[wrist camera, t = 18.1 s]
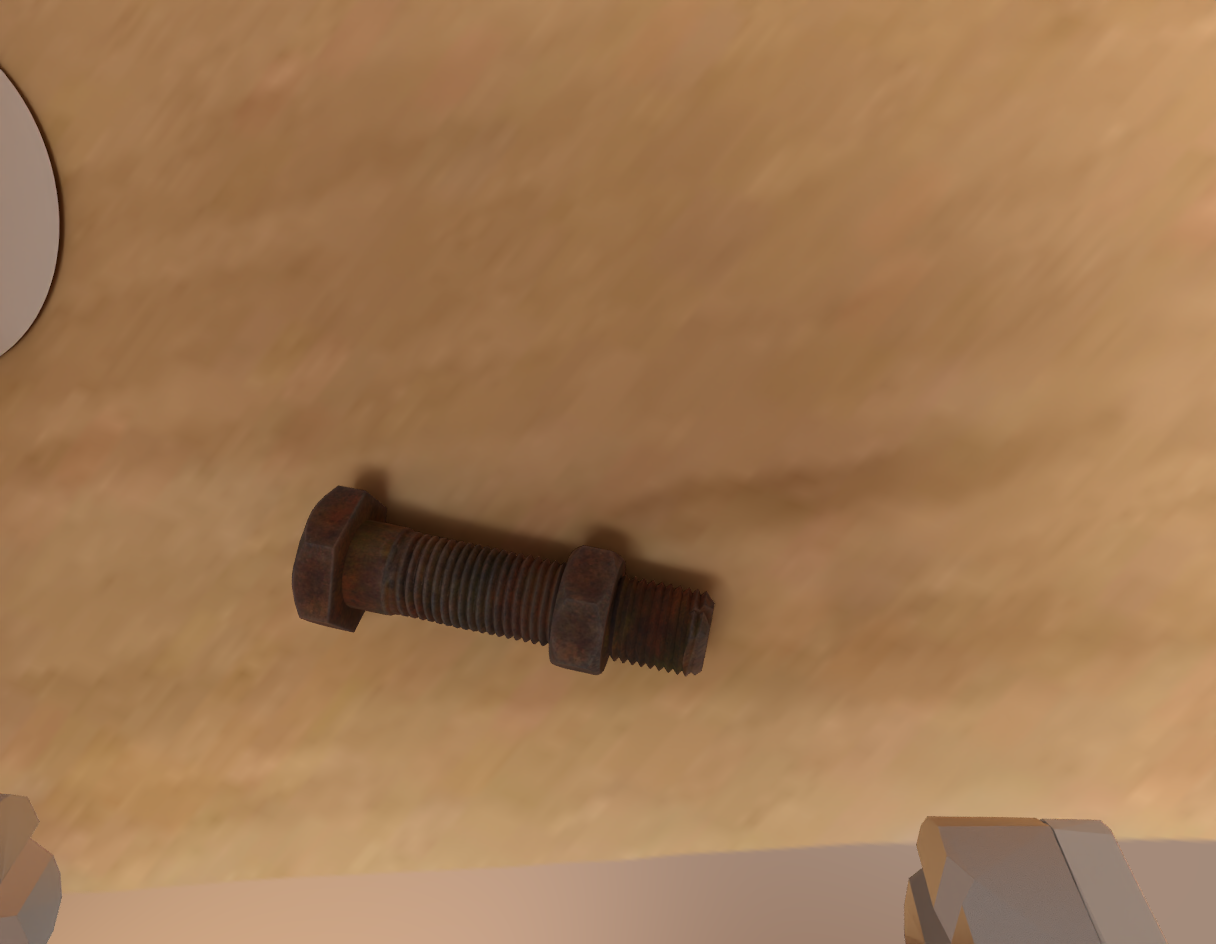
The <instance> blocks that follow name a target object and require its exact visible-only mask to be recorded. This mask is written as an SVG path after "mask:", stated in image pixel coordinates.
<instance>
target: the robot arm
mask: <svg viewBox="0 0 1216 944" xmlns="http://www.w3.org/2000/svg"><path fill="white" fill-rule="evenodd" d="M58 244H59V207H58V198H57V191H56V185H55V180H54V175H53V171H52V167H51V163H50V160H49V157H48V153H47V150H46V147H45V145H44V142H43V139H42V137H41V134H40V132H39V130H38V127H37V125H36V123H35V121H34V119H33V117H32V115H31V113H30V111H29V109H28V108H27V106H26V104H25V102H24V101H23V99H22V98H21V96H20V94H19V93H18V91H17V90H16V88H15V87H14V86H13V84H12V83H11V82H10V80H9V79H8V78H7V76H6V75H5V74H4V73H3V72H2V70H1V69H0V356H1V355H2V354H4V353H5V352H6V351H8V350H9V349H10V348H11V347H12V346H13V345H14V344H15V343H16V342H17V341H18V340H19V339H20V338H21V337H22V336H23V335H24V333H25V332H26V331H27V330H28V329H29V327H30V326H31V324H32V323H33V321H34V320H35V318H36V317H37V315H38V313H39V311H40V309H41V307H42V305H43V303H44V301H45V298H46V296H47V294H48V291H49V288H50V285H51V282H52V278H53V275H54V270H55V265H56V261H57V253H58ZM39 822H40V821H39V819H38V817H37V815H36V813H35V811H34V808H33V806H32V804H31V802H30V800H29V798H28V797H27V796H19V795H11V794H0V944H47V942H48V940H49V938H50V936H51V934H52V932H53V930H54V926H55V922H56V918H57V914H58V910H59V906H60V903H61V898H62V892H61V875H60V871H59V869H58V866H57V863H56V861H55V858H54V855H53V854H51V853H50V852H49V851H47V850H46V849H45V848H43V847H42V846H41V845H39V844H38V843H37V842H35V841H34V840H33V839H31V838H30V837H31V835H32V834H33V832H34V830H35V829H36V827H37V826H38V824H39ZM916 846H917V849H918V853H919V857H920V861H921V864H922V869H920V870H919V871H918V872H917V873H915V874H914V875H913V876H911V877H910V878H909V880H908V886H907V891H906V897H905V903H904V936H905V943H906V944H1168V942H1167V940H1166V938H1165V936H1164V935H1163V932H1162V930H1161V928H1160V926H1159V925H1158V923H1157V920H1156V918H1155V916H1154V915H1153V912H1152V911H1151V909H1150V907H1149V905H1148V903H1147V901H1146V899H1145V897H1144V895H1143V893H1142V891H1141V889H1140V887H1139V885H1138V883H1137V881H1136V879H1135V877H1134V875H1133V873H1132V871H1131V869H1130V867H1129V865H1128V863H1127V861H1126V859H1125V857H1124V855H1123V853H1122V851H1121V849H1120V847H1119V845H1118V843H1117V841H1116V839H1115V837H1114V835H1113V833H1112V831H1111V829H1109V828H1108V827H1107V826H1106V825H1105V824H1104V823H1103V822H1102V821H1101V820H1075V819H1041V820H1038V819H1037V818H1013V817H937V816H927V818H926V819H925V821H924V822H923V823H922V825H921V827H920V831H919V836H918V840H917V844H916Z"/></svg>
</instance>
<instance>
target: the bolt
mask: <svg viewBox="0 0 1216 944" xmlns="http://www.w3.org/2000/svg"><path fill="white" fill-rule="evenodd" d="M386 513H387V508H386V507H385V506H384V505H382V504H381V503H380V502H379V501H378V500H376V499H375V498H374V497H373V496H371V495H370V494H369V493H368V492H366V491H364V490H359V489H353V488H348V487H343V486H337V487H336V488H335V489H333V490H332V491H331V492H329V493H328V494H327V495H325V496H324V497H323V498H322V499H321V500H320V501H319V502H318V503H317V505H316V506H315V507H314V509H313V510H312V512H311V514H310V516H309V518H308V521H307V523H306V526H305V529H304V532H303V534H302V537H301V540H300V543H299V547H298V550H297V554H296V558H295V562H294V566H293V573H292V589H293V595H294V601H295V605H296V608H297V611H298V614H299V618H301V619H304V620H306V621H309V622H312V623H316V624H319V625H323V626H327V627H332V628H336V629H340V630H345V631H349V632H355V630H356V628H357V626H358V624H359V622H360V620H361V618H362V616H363V614H364V612H365V611H370V612H375V613H380V614H385V615H394V614H397V615H403V616H407V617H408V616H410V617H412V618H418V617H419V619H421V620H425V619H427V620H428V621H430V622H434V621H435V622H436V623H439V624H442V623H444V624H445V625H446V626H452V625H453V626H454V627H456V628H460V627H462V629H465V630H468V629H470V630H472V631H479V632H481V633H484V632H486V631H487V632H488V633H489V635H493V634H494V633H496V635H497V636H498V637H501V636H503V635H504V634H505V636H506V638H508V639H509V638H511V637H513V636H514V638H515V640H519V639H520V638H523V641H524V642H527V641H529V640H530V639H531V641H532V643H533V644H536V643H537V642H538V641H540V643H541V645H542V646H544V645H546V644H547V643H549V657H550V662H551V663H552V664H554V665H556V666H559V667H562V668H566V669H570V670H575V671H579V672H584V673H588V674H593V675H599V674H601V673H602V672H603V671H604V669H605V666H606V664H607V661H608V658H609V656H611V658H612V659H613V661H615V660H616V659H617V658H618V657H619V658H620V660H621V661H622V663H624V662H625V661H626V660H627V659H628V660H629V662H630V663H631V665H633V664H634V663H635V662H636V661H637V662H638V664H639V665H640V667H642V666H643V665H644V664H645V663H646V664H647V666H648V667H649V669H651V668H652V667H653V666H654V665H655V666H656V667H657V669H658V670H659V671H660V670H661V669H662V668H663V667H664V668H665V669H666V671H667V672H668V673H669V672H670V671H671V670H672V669H674V671H675V672H676V674H677V675H678V674H679V673H680V672H681V671H683V673H684V675H685V677H686V676H687V675H688V674H689V673H693V674H694V675H696V674H698V673H699V672H701V671H702V667H703V661H704V658H705V652H706V647H707V641H708V636H709V631H710V625H711V620H712V614H713V609H714V604H715V603H714V601H713V600H712V599H711V598H710V596H709V594H708V592H707V591H706V592H704V593H703V594H702V595H701V594H700V592H699V590H698V589H697V590H696V591H694V592H693V593H692V592H691V589H690V587H689V588H688V589H686V590H685V591H683V590H682V587H681V585H680V586H679V587H678V588H676V589H675V590H674V588H673V586H672V584H670V585H669V586H667V587H666V588H665V586H664V584H663V582H662V583H660V584H659V585H657V586H656V584H655V581H654V580H653V581H652V582H650V583H649V584H647V582H646V580H645V578H644V579H643V580H641V581H640V582H639V581H638V579H637V577H634V578H633V579H631V580H630V579H629V577H628V575H625V570H626V564H625V561H624V559H623V558H622V557H621V556H620V555H618V554H617V553H615V552H613V551H609V550H604V549H599V548H594V547H589V546H585V545H583V546H581V547H578V548H577V549H575V550H574V551H573V552H572V553H571V555H570V557H569V559H568V562H567V563H566V562H564V563H563V564H562V565H559V563H558V561H557V560H556V561H554V562H553V563H552V564H551V562H550V560H549V559H548V558H547V559H546V560H545V561H544V562H543V561H542V559H541V557H540V556H539V557H537V558H536V559H535V560H533V557H532V555H529V556H527V557H526V558H525V557H524V555H523V553H520V554H519V555H518V556H516V553H514V552H512V551H511V552H510V553H509V554H508V552H507V551H505V550H502V551H501V552H499V550H498V549H497V548H493V549H492V551H491V549H490V547H489V546H486V547H484V548H482V546H481V545H480V544H478V545H476V546H475V547H474V545H473V544H472V543H467V544H465V543H464V541H459V542H458V543H457V541H456V540H454V539H452V540H448V538H441V539H440V537H438V536H433V537H432V536H431V535H429V534H425V535H423V533H420V532H415V531H413V530H412V529H411V528H408V527H403V526H398V525H393V524H389V523H386Z"/></svg>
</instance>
